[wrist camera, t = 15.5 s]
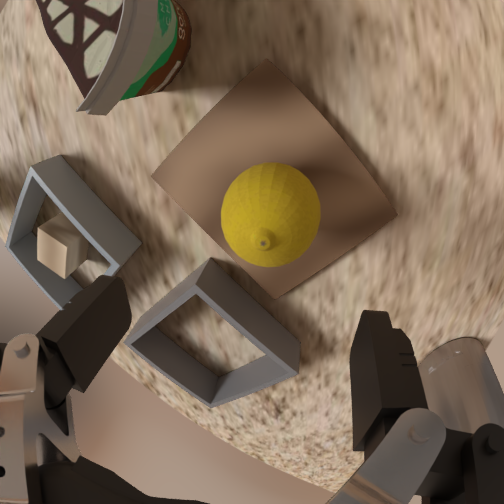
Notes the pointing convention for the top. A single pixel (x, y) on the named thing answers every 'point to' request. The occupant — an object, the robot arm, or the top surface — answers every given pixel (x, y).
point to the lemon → (270, 214)
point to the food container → (117, 46)
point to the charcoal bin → (234, 312)
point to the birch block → (61, 245)
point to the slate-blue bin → (78, 212)
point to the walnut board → (282, 151)
